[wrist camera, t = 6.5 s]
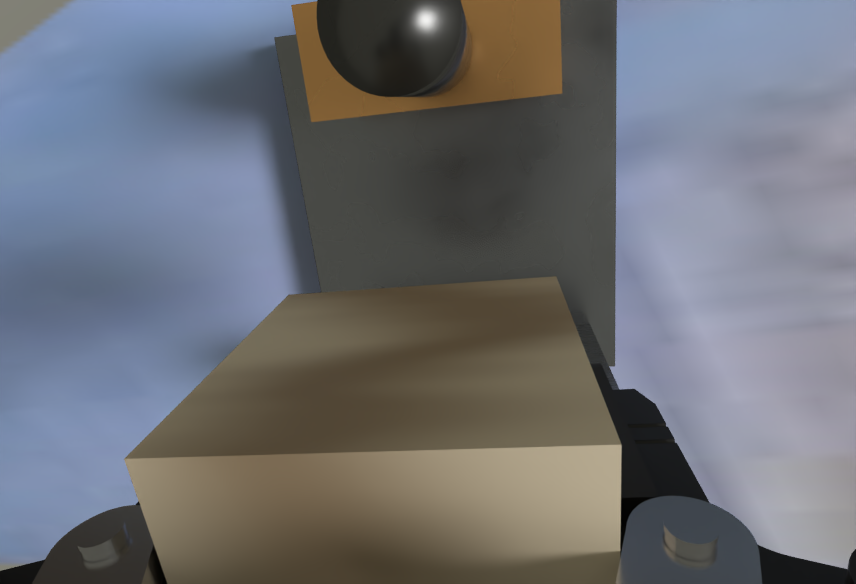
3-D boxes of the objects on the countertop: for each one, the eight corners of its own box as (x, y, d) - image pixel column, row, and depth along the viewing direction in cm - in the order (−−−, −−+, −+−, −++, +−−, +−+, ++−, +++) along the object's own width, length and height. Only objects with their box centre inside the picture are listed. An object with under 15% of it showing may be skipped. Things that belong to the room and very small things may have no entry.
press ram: (540, -1, 18) (609, -128, 8) (544, 94, 19) (609, 91, 9) (339, 27, 19) (166, -54, 9) (352, 116, 20) (209, 136, 10)
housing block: (556, 276, 10) (621, 445, 5) (563, 503, 11) (617, 791, 7) (288, 294, 10) (124, 459, 6) (332, 506, 12) (232, 770, 7)
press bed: (607, -3, 19) (674, -58, 12) (607, 350, 24) (656, 455, 17) (288, 41, 21) (188, 13, 14) (345, 363, 26) (291, 464, 19)
